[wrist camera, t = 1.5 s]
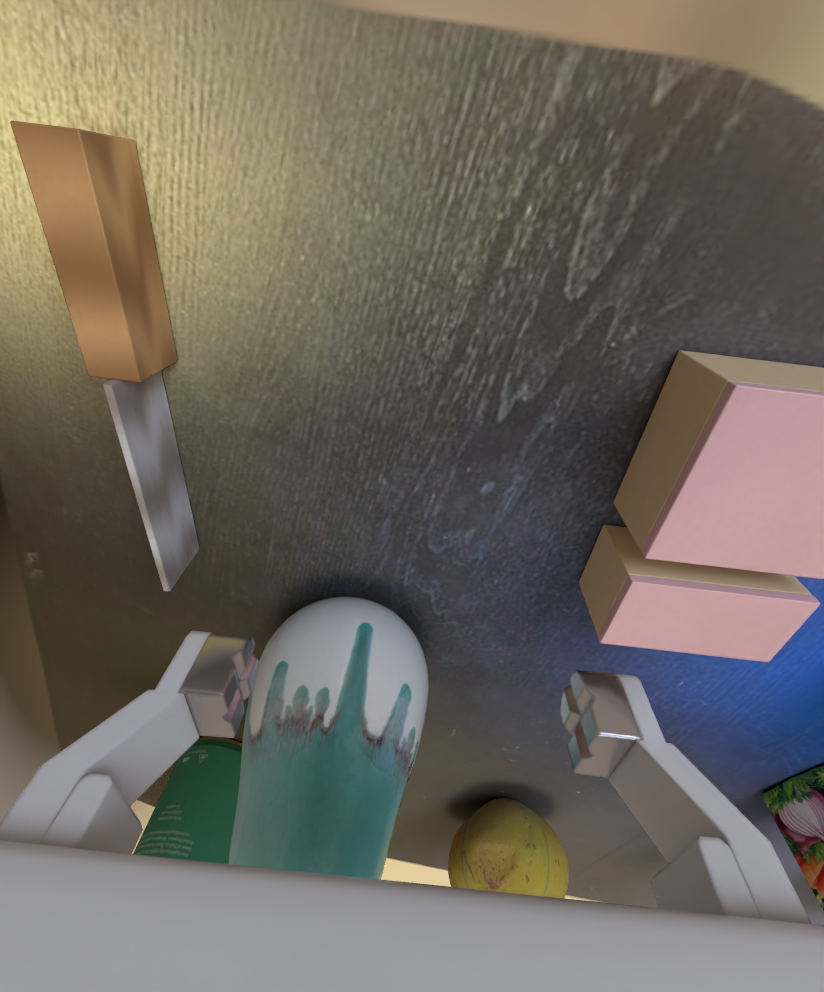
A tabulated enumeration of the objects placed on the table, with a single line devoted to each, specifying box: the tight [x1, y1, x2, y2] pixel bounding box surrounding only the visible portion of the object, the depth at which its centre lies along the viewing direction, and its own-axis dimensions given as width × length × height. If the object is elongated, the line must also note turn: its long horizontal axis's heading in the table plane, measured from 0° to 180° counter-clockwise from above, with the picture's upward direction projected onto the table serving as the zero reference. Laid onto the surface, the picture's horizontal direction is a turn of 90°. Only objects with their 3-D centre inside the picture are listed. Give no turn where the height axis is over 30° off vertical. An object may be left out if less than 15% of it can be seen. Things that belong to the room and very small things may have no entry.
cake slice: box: [579, 525, 820, 662], centre depth 26 cm, size 5×10×5 cm, turn 84°
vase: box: [229, 596, 429, 880], centre depth 26 cm, size 12×12×18 cm
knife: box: [10, 121, 200, 591], centre depth 22 cm, size 22×2×4 cm, turn 174°
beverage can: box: [134, 737, 242, 864], centre depth 41 cm, size 8×8×12 cm
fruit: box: [448, 798, 569, 899], centre depth 44 cm, size 11×12×10 cm
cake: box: [613, 351, 824, 579], centre depth 22 cm, size 9×10×5 cm
